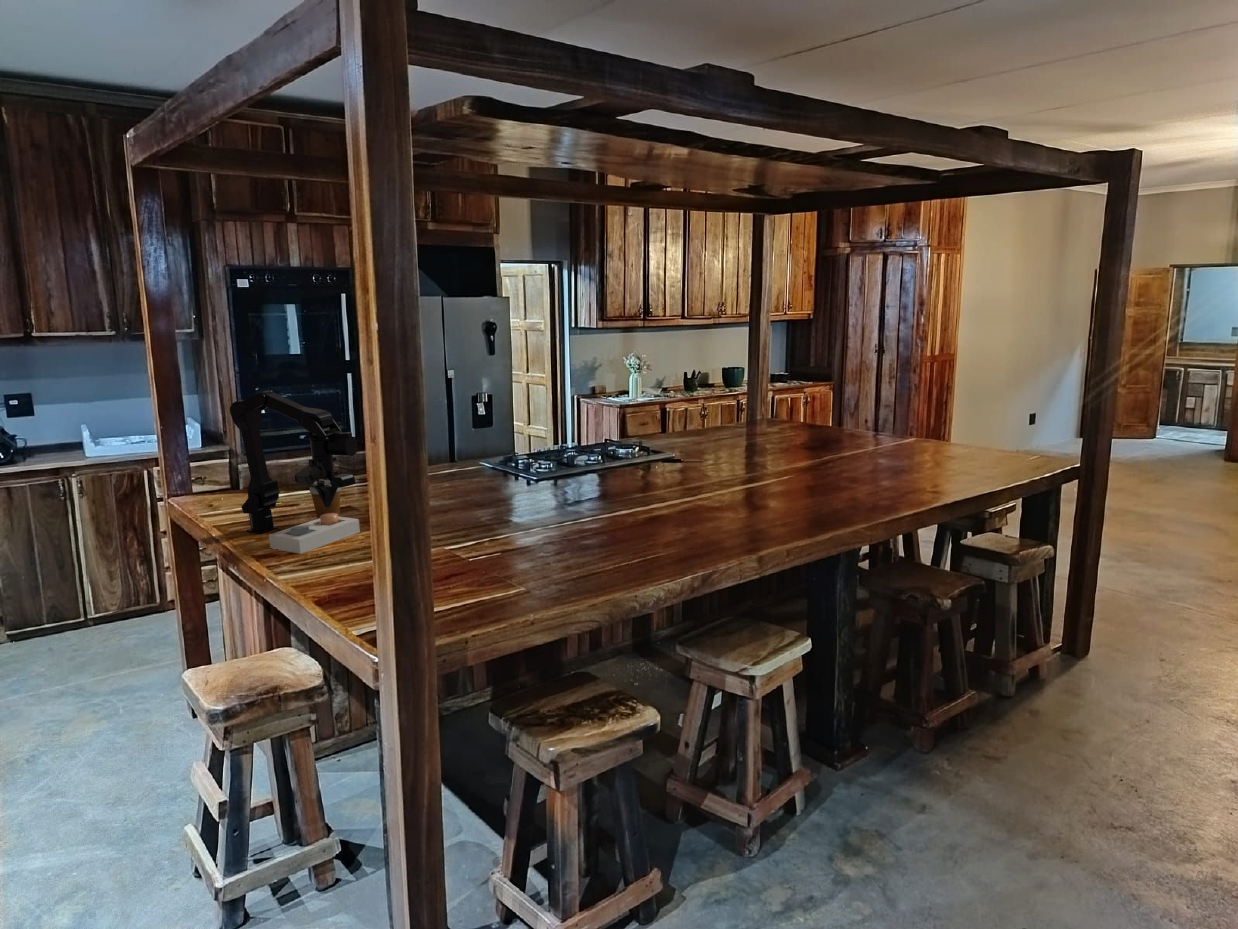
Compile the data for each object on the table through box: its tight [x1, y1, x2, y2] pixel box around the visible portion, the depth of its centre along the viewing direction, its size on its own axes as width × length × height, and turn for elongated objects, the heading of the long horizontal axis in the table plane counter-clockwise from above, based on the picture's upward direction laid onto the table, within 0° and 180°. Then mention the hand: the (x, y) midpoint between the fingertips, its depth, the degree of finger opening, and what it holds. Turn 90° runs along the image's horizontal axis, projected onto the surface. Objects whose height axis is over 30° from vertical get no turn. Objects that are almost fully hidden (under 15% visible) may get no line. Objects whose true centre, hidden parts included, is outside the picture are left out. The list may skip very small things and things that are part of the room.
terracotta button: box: [320, 513, 339, 526], centre depth 245 cm, size 5×5×3 cm
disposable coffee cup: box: [309, 486, 342, 519], centre depth 259 cm, size 10×10×12 cm
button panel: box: [268, 516, 361, 555], centre depth 241 cm, size 12×22×4 cm, turn 152°
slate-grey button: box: [290, 526, 309, 536], centre depth 235 cm, size 5×5×3 cm
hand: (327, 507), depth 244 cm, fingers closed
